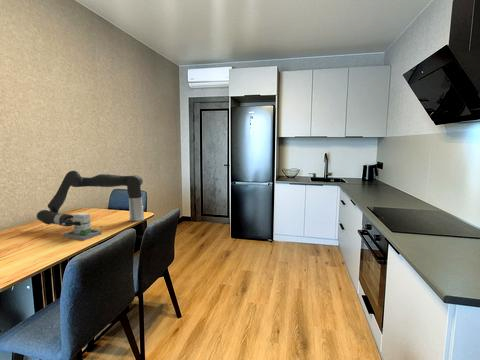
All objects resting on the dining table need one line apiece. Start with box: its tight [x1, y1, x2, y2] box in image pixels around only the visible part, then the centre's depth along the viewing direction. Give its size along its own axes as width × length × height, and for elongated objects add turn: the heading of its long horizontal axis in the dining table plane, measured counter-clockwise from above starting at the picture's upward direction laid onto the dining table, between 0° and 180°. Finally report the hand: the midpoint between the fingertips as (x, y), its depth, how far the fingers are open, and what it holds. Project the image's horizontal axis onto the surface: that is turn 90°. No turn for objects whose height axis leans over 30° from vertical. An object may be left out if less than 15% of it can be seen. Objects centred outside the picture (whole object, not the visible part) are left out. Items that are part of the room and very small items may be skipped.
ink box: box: [72, 212, 92, 234], centre depth 164 cm, size 9×5×12 cm, turn 71°
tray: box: [63, 228, 103, 241], centre depth 165 cm, size 13×17×2 cm
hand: (84, 222), depth 164 cm, fingers closed on ink box, 5 cm apart
